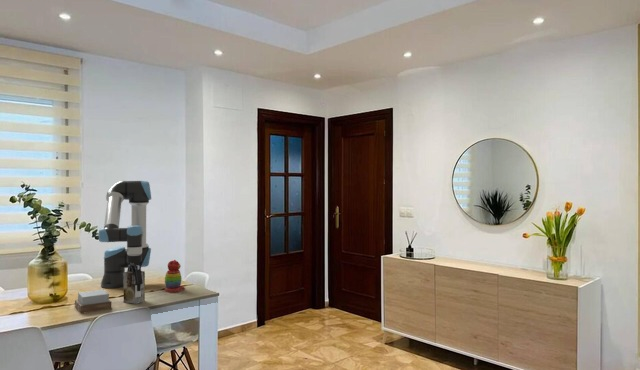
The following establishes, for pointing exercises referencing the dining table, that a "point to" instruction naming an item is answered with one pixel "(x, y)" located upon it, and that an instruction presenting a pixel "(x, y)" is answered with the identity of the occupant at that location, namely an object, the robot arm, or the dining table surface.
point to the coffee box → (133, 288)
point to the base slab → (92, 306)
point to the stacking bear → (173, 278)
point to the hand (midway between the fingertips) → (134, 294)
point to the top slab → (93, 297)
